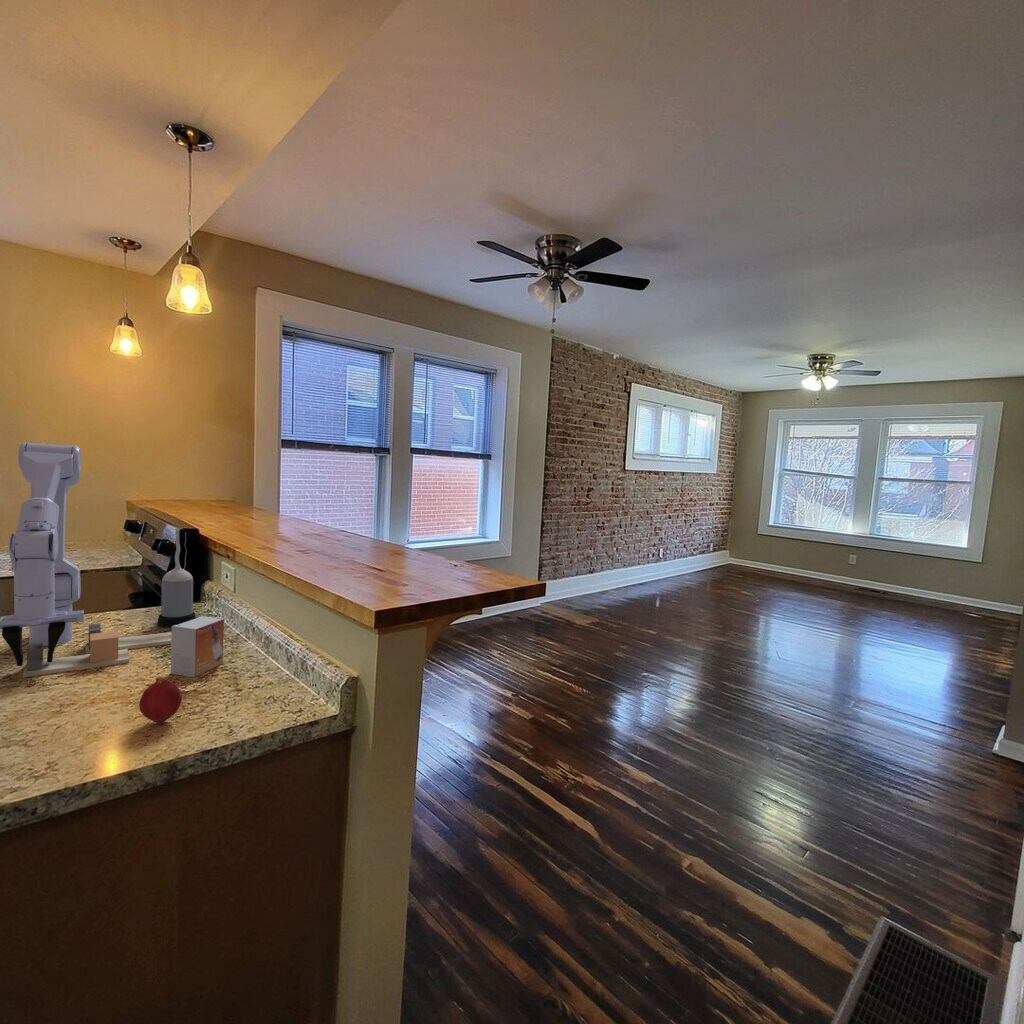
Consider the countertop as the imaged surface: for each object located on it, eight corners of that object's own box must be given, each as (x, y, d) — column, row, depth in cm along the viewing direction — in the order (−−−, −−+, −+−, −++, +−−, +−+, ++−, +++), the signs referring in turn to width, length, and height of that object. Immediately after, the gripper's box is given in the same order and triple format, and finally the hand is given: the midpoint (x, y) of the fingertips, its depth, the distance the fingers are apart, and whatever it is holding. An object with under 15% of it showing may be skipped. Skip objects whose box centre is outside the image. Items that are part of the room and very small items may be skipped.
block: (90, 655, 109) (90, 633, 109) (117, 651, 112) (117, 630, 112) (90, 662, 106) (90, 640, 105) (118, 658, 108) (118, 637, 108)
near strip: (26, 665, 104) (26, 641, 104) (127, 652, 114) (127, 630, 113) (23, 677, 99) (22, 652, 99) (129, 662, 109) (129, 639, 108)
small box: (194, 681, 104) (195, 629, 103) (169, 677, 105) (170, 625, 104) (223, 667, 112) (225, 618, 111) (200, 663, 113) (201, 615, 112)
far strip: (85, 645, 116) (85, 623, 116) (172, 635, 126) (172, 615, 126) (85, 654, 111) (85, 632, 111) (175, 643, 121) (175, 622, 121)
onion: (152, 714, 91) (153, 668, 90) (188, 714, 91) (188, 669, 91) (131, 731, 85) (131, 682, 84) (169, 731, 86) (170, 683, 85)
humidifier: (156, 623, 136) (157, 526, 134) (193, 619, 141) (195, 526, 139) (158, 632, 130) (159, 531, 127) (197, 628, 135) (199, 530, 132)
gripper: (-23, 602, 93) (-22, 677, 95) (83, 594, 102) (83, 662, 104) (-17, 592, 99) (-16, 663, 100) (83, 586, 108) (83, 651, 109)
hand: (35, 662), depth 102 cm, fingers open, 4 cm apart
